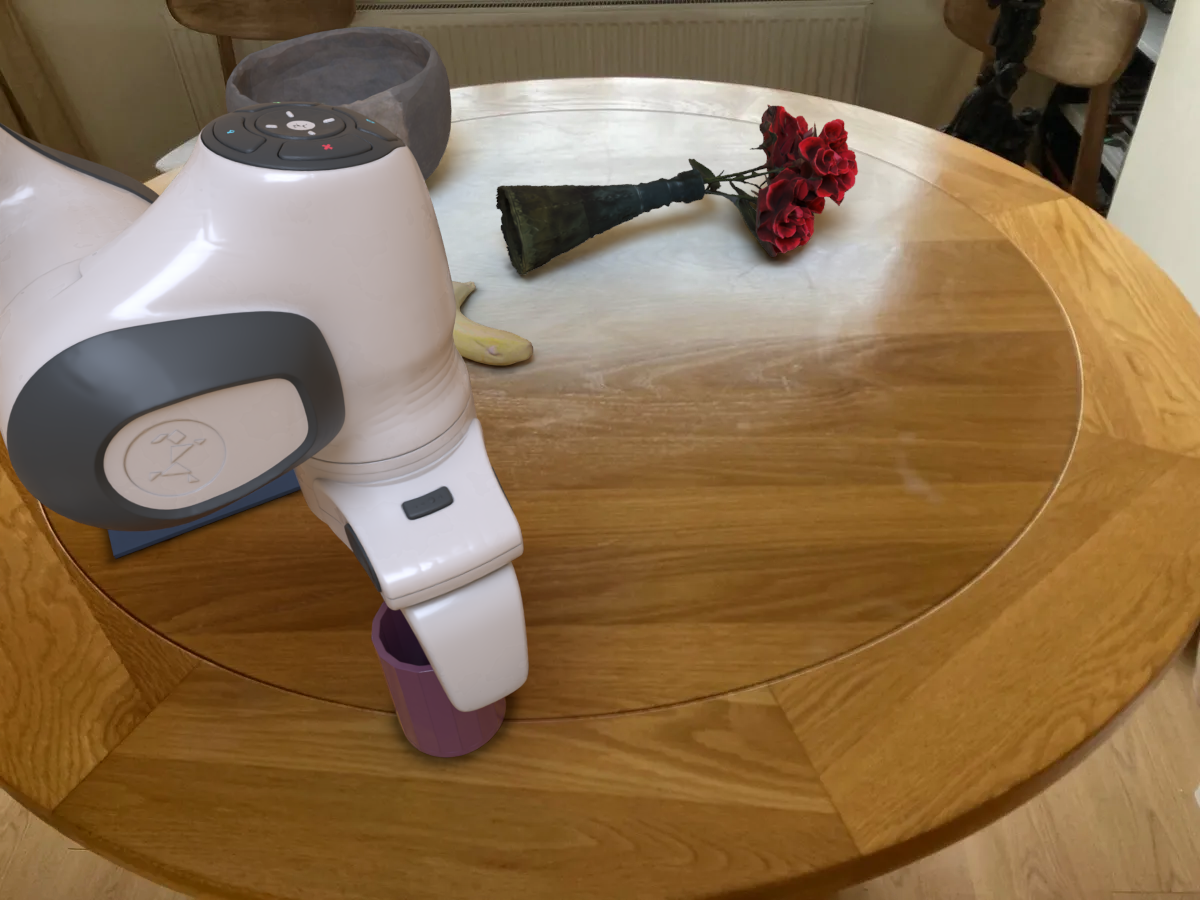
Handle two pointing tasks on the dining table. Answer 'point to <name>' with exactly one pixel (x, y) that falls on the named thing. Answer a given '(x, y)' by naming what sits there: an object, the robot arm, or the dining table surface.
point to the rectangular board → (141, 539)
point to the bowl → (357, 82)
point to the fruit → (485, 336)
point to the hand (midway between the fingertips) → (436, 622)
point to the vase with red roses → (691, 195)
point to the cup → (426, 694)
